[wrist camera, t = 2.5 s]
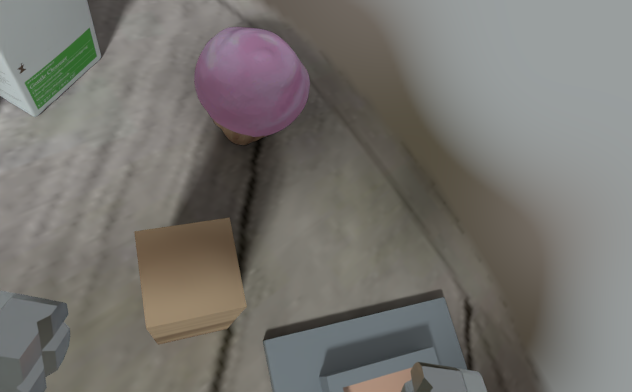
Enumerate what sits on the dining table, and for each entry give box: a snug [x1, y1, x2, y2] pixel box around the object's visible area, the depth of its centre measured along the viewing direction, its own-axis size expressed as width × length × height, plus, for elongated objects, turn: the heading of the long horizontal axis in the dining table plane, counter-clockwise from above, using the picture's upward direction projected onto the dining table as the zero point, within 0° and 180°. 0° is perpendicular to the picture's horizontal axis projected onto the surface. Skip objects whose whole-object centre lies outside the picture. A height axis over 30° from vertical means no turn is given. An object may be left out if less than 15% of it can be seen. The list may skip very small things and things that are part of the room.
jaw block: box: [135, 218, 247, 344], centre depth 29 cm, size 5×5×12 cm
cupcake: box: [194, 27, 310, 145], centre depth 37 cm, size 9×9×10 cm
